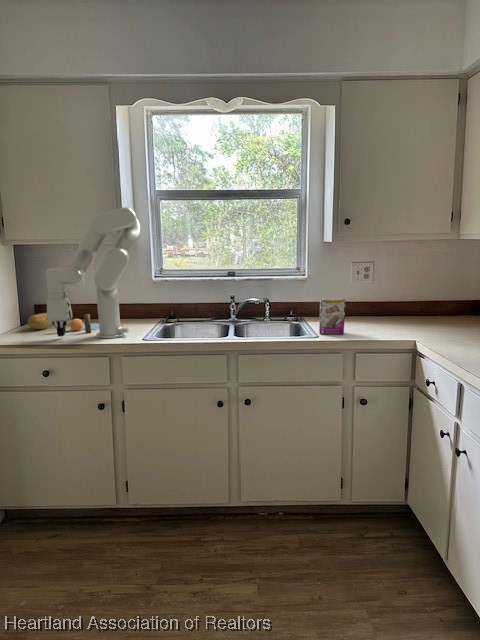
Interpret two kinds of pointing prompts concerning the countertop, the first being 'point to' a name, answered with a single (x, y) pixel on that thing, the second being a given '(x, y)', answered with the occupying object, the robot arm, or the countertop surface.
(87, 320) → the right post
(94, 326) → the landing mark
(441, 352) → the countertop surface
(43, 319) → the potato
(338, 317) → the candy bar box
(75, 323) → the ball
